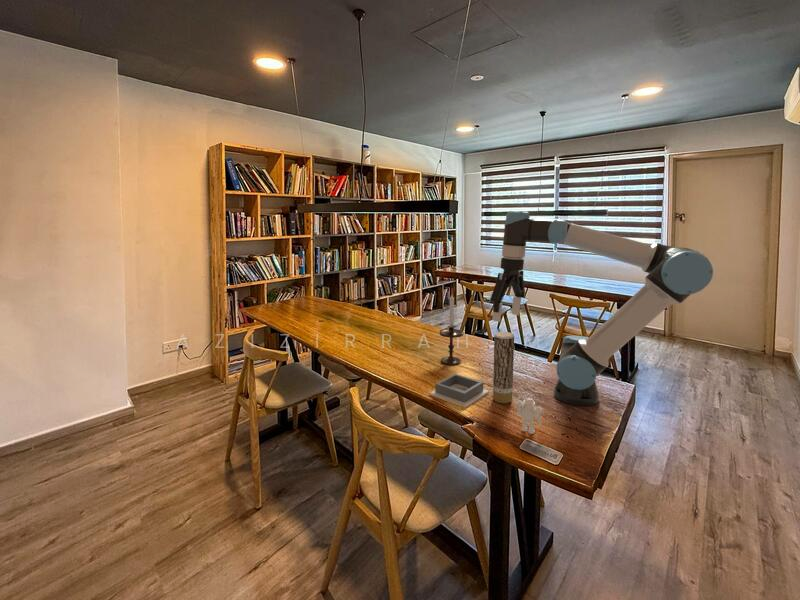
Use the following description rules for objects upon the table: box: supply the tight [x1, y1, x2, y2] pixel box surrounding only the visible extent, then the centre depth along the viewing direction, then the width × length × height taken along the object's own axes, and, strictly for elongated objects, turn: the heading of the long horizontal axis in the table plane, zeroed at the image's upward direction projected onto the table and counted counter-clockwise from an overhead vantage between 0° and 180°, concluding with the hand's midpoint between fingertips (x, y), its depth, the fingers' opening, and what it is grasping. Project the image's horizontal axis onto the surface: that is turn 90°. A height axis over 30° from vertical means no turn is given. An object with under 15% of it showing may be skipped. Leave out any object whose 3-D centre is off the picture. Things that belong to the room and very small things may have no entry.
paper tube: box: [492, 331, 515, 404], centre depth 142 cm, size 7×7×25 cm
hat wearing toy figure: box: [514, 393, 545, 435], centre depth 122 cm, size 9×4×12 cm, turn 48°
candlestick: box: [439, 287, 464, 366], centre depth 180 cm, size 11×11×35 cm
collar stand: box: [429, 373, 490, 409], centre depth 149 cm, size 16×16×4 cm
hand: (506, 317), depth 139 cm, fingers open, 13 cm apart
